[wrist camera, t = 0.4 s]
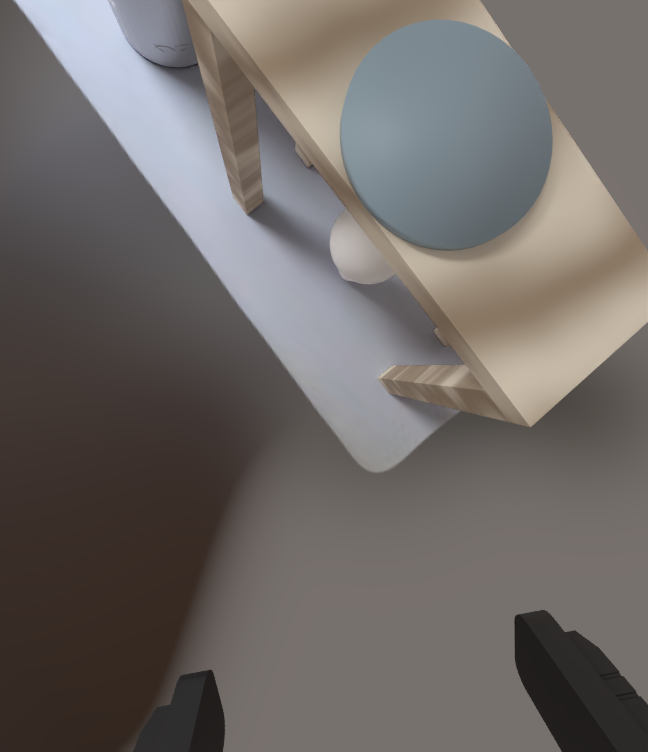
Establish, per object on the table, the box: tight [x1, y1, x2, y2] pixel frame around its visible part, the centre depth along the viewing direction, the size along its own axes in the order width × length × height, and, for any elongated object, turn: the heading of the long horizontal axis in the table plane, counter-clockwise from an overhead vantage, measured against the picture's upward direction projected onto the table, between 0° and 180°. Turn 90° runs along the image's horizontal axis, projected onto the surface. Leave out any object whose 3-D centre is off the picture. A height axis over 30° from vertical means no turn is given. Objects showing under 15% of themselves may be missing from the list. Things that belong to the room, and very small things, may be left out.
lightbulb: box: [330, 209, 396, 284], centre depth 30 cm, size 6×6×11 cm
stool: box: [182, 0, 648, 427], centre depth 25 cm, size 24×10×21 cm, turn 39°
